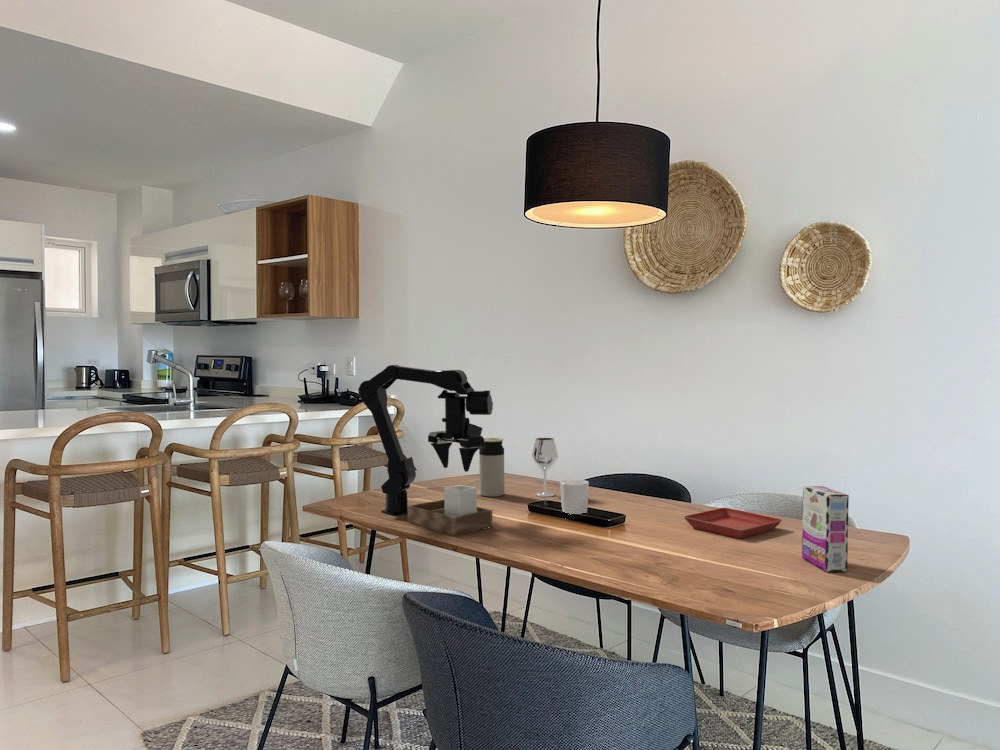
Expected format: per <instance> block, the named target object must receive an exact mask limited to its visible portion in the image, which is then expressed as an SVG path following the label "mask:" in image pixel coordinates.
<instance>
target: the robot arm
mask: <svg viewBox="0 0 1000 750" xmlns="http://www.w3.org/2000/svg"><path fill="white" fill-rule="evenodd" d="M396 380H400V381H410V382H417V383H424V384H431V385H433V386H435V387H438V388H440V389H443V390H442V391H441V393H440V394H439V395H437V398H438V399H444V408H445V409H444V412H445V413H444V417H442V418H441V422H443V423H445V424H444V425H445V426H444V427H445V429H444V430H439V431H438V430H437V431H431V432H429V434H428V435H427V442H428V443H430V445H431V446H432V448H433V449H434V451H435V452H436V454H437V457H438V459H439V460H440V462H441V464H442V467H443V468H444V469H447V468H448V467H449V456H450V448H451V446H452V444H453V443H457V444H459V446H460V447H459V448H458V449H459V453H460V454H459V455H460V457H461V464H462V467H463V470H464V472H466V473H467V472H469V470H470V467H471V464H472V460H473V459H474V458H473V457H474V455H475V453H476V452H478V450H479V449H481V446H484V438H485V437H483V436H482V432H483V427H481V426H478V425H475V424H473V423H471V421H470V418H469V417H466V415H467V414H466V412H468V413H469V415H472V416H473V415H475V416H478V415H479V416H490V415H492V413H493V409H494V408H493V407H494V403H493V398H492V395H491V390H487V389H486V390H475V389H474V388H473V387H472V385H471V384H470V382H469V381H468V376H467V374H466V373H465V372H464V370H461V369H447V370H446V369H445V370H443V369H442V370H432V369H431V370H430V369H425V368H417V367H409V366H403V365H402V366H401V365H398V364H389V365H387V366H386V368H384V369H383V370H381V371H380V372H378V374H376V375H374V376H373V377H371V378H370V379H369V380H364V381H363V382H361V383H360V384H359V387H358V389H357V390H358V391H357V392H358V395H359V397H360V398H361V400H362V403H363V404H364V406H365V407H366V408H367V409H368V411H370V413H371V415H372V418H373V420H374V424H375V426H376V429H377V432H378V434H379V437H380V440H381V444H382V446H383V449H384V452H385V455H386V458H387V469H386V470H387V475H388V479H387V480H386V481H385V482H384V483H383V484H382V485H380V487H381V490H382V494H385V509H381V512H382V513H384V514H388V515H392V516H397V515H401V514H406V513H407V514H408V506H409V505H408V491H407V490H409V488H410V486H411V484H412V483H413V482H414V481H415V480H416V475H417V473H416V471H417V470H418V469H417V468H416V466H415V463H414V458H413V457H412V456H411V457H407V456H406V455H405V454H404V452H403V449H402V446H401V444H400V441H399V438H398V435H397V432H396V430H395V427H394V424H393V422H392V418H391V415H390V412H389V410H388V393H387V390H388V389H389V388H390V387H391V386H392V385H393V384H394V383H395V382H396ZM449 391H450V392H449Z"/></svg>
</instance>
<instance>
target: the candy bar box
mask: <svg viewBox="0 0 1000 750" xmlns="http://www.w3.org/2000/svg"><path fill="white" fill-rule="evenodd" d="M849 497H850V496H849V494H846V493H843V492H841V491H839V490H838V491H837V490H835V489H833V488H832V489H831V488H829V487H827V486H824V485H823V486H822V485H821V486H820V485H819V486H817V485H816V486H815V485H813V486H812V485H809V486H803V487H802V536H801V537H802V539H801V540H802V541H801V546H802V547H801V555H802V556H801V558H802V559H803V560H805V562H808V563H810V564H811V565H813V566H815V567H817V568H819V569H820V570H822V571H824V572H826V573H845V572H848V550H849V548H848V547H849V546H848V545H849V544H848V543H849V533H848V532H849V505H850V504H849V503H850V502H849Z"/></svg>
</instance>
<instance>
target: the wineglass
mask: <svg viewBox="0 0 1000 750" xmlns="http://www.w3.org/2000/svg"><path fill="white" fill-rule="evenodd" d="M531 458H532V461H533V463H534V464H535V465H536V466H537V467H538V468H539V469H540V470H541V471H542V473H543V490H542V491H543V492H536V493H535V494H534V496H537V497H541V498H546V497H547V498H548V497H550V498H551V497H554V496H556V494H555V492H554V493H553V492H548V491H547V472H548V471H549V470H550V469H551V468H552V467H553V466H554V465H555V464H556V463H557V461H558V450H557V446H556V443H555V439H554V438H552V437H538V438H537V437H536V438H535V441H534V445H533V449H532V453H531Z"/></svg>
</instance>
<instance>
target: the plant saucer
mask: <svg viewBox="0 0 1000 750" xmlns="http://www.w3.org/2000/svg"><path fill="white" fill-rule="evenodd" d="M683 517H684V520H685V521H687V523H688V524H689V525H690V526H691V527H692V528H693V529H697V530H700V531H705V532H710V533H713V534H717V535H722V536H726V537H730V538H734V539H743V538H744V539H745V538H747V537H751V536H756V535H759V534H763V533H766V532H769V531H773V530H775V529H776V528H777V527H778V526H779V525H780V523H781V522H782V521H783V519H782V518H776V517H772V516H767V515H763V514H758V513H753V512H749V511H743V510H740V509H733V508H728V507H720V508H716V509H711V510H706V511H701V512H698V513H693V514H688V515H684V516H683Z"/></svg>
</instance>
